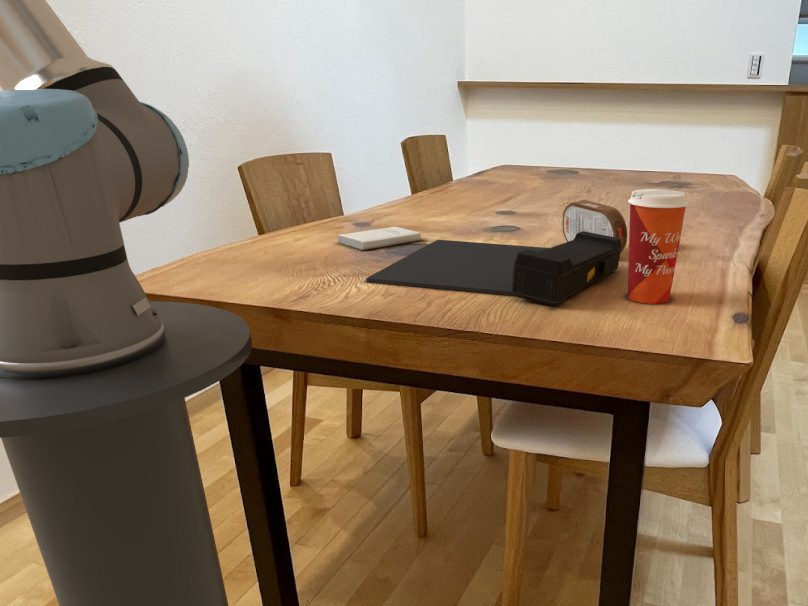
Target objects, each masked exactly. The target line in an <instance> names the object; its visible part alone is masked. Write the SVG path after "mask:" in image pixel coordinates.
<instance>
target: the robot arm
mask: <svg viewBox="0 0 808 606" xmlns="http://www.w3.org/2000/svg"><path fill="white" fill-rule="evenodd" d="M0 88H2V90H1V91H0V376H1V377H5V378H12V379H27V380H37V379H55V378H64V377H72V376H79V375H85V374H90V373H95V372H99V371H104V370H108V369H111V368H115V367H118V366H122V365H125V364H128V363H131V362H133V361H136V360H138V359H141V358H143V357H145V356H147V355H149V354H151V353H152V352H154V351H155V350H157V349H158V348H159V347H160V346H161V345H162V344H163V343H164V341H165V339H166V336H165V331H164V327H163V322H162V320H161V318H160V316H159V314H158V312H157V311H156V310H155V309H153V308H152V306H151V304H150V301H151V300H150V298H148V295H147V293H146V292H145V290H144V288H143V287H142V285H141V283H140V282H139V280H138V278H137V277H136V275H135V273H134V272H133V270H132V268H131V266H130V262H129V259H128V255H127V251H126V247H125V241H124V237H123V233H122V229H121V223H123V222H126V221H128V220H131V219H134V218H138V217H143V216H148V215H151V214H154V213H155V212H157V211H159V210H160V209H161V208H163V207H165V206H166V205H168V204H169V203H171V202H172V201H174V199H176V197H177V196H178V195H179V194H180V193H181V192H182V190H183V188H184V187H185V184H186V182H187V179H188V175H189V166H190V158H189V150H188V147H187V144H186V141H185V139H184V136H183V134H182V132H181V131H180V129H179V128H178V127H177V125H176V123H175V122H174V121H173V120H172V119H171V118H170V117H169V116H167V115H166V114H165V113H164V112H162V111H161V110H160V109H159V108H156V107H154V106H153V105H151V104H148V103H145V102H142V101H140V100H139V99H138V97H136V95H135V93H134V92H133V91H132V89H131V88H130V87H129V85H128V84H127V82H125V80H124V78H122V76H121V74H120V73H119V71H117V70H116V68H115V67H114V66H113V65H112V64H109V63H106V62H102V61H99V60H96V59H93V58H91V57H89V56H88V55H87V54H86V53H85V50H83V47H81V45H80V44H79V43H78V41H77V40H76V39H75V37H74V36H73V35H72V34H71V32H70V31H69V30H68V28H67V27H66V26H65V24H64V23H63V21H62V20H61V19H60V18H59V16H58V15H57V14H56V12H55V11H54V10H53V8H52V7H51V6H50V4H49V3H48V2H47V0H0Z"/></svg>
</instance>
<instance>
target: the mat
mask: <svg viewBox="0 0 808 606" xmlns="http://www.w3.org/2000/svg"><path fill="white" fill-rule="evenodd" d="M548 248H549V247H541V246H529V245H515V244H502V243H490V242H475V241H462V240H449V239H436V240H434V241H432V242H430V243H429V244H426V245H425V246H423V247H421V248H419V249H417V250H416V251H414V252H412V253H410V254H408V255H407V256H405V257H403V258H401V259H399V260H397V261H395V262H394V263H392V264H389V265H388V266H386V267H384V268H382V269H381V270H379V271H377V272H375V273H373V274H371V275H369V276H368V277H366V278H365V280H366V283H372V284H373V283H374V284H385V285H395V286H403V287H404V286H405V287H415V288H416V287H417V288H427V289H438V290H448V291H456V292H457V291H458V292H467V293H468V292H469V293H480V294H490V295H501V296H510V297H511V296H512V297H516V296H515V294H513V293H512V280H513V269H514V263H515V259H516V257H517V255H518V253H519V252H521V251H525V250H528V249H529V250H533V251H538V252H540V251H542V250H545V249H548Z"/></svg>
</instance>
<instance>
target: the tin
mask: <svg viewBox="0 0 808 606" xmlns="http://www.w3.org/2000/svg"><path fill="white" fill-rule="evenodd" d="M561 222H562V234H563V237H564V238H565V241H566V242H569V241H572V240H574V238H575V236H576V234H577V233H579V232H582V231H585V232H590V233H595V234H601V235H606V236H611V237H616V238H620V239H621V253H620V255H621V254H622V253H623V251H624V250H625V248H626V246H627V242H628V227H627V224H626V220H625V218H624V216H623V215H622V213H621V212H620V211H619V210H618V209H617V208H615V207H614V206H611V205H607V204H603V203H599V202H594V201H591V200H588V199H581V200H578V201H574V202H570V203H568V204H567V205H566V206H565V208H564V209H563V212H562V221H561Z"/></svg>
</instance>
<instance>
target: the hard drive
mask: <svg viewBox="0 0 808 606" xmlns="http://www.w3.org/2000/svg"><path fill="white" fill-rule="evenodd" d="M421 240H422V233H420V232H419V231H416V230H411V229H407V228H404V227H399V226H391V227H384V228H376V229H369V230H363V231H355V232H349V233H343V234H342V233H341V234H338V235H337V242H338V244H340V245H344V246H347V247H350V248H354V249H356V250H360V251H365V250H373V249H377V248H383V247H389V246H390V247H391V246H396V245H401V244H406V243H407V244H408V243H413V242H418V241H421Z"/></svg>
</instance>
